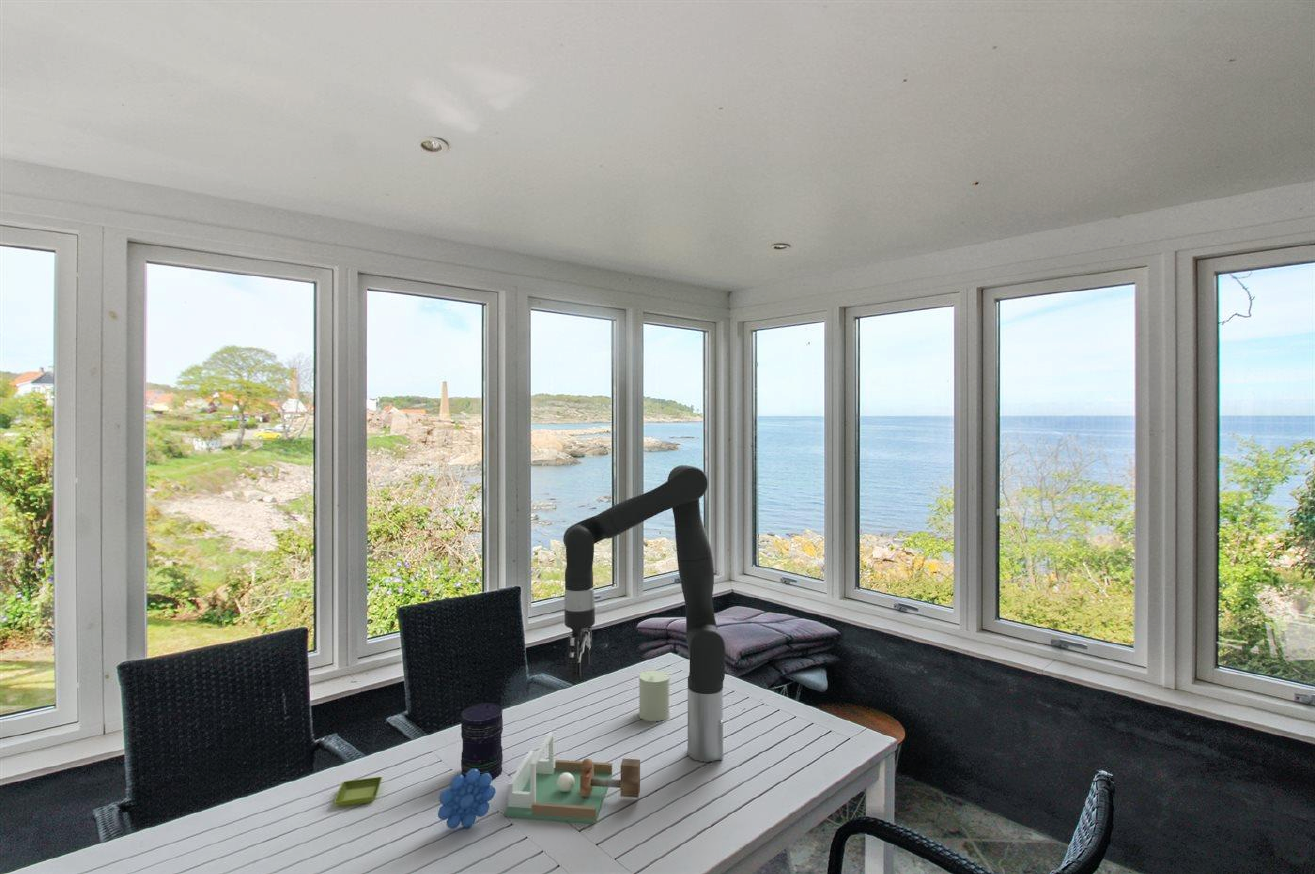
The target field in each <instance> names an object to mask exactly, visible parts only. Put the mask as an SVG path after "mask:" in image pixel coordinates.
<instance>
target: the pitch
mask: <svg viewBox="0 0 1315 874" xmlns="http://www.w3.org/2000/svg"><path fill="white" fill-rule="evenodd" d="M547 748H548V758H541V757H542V756H543V754H544V753H545V751H546V749H547ZM582 762H583V760H581V761H580V760H564V759H563V760H562V759H556V760H555V732H554V731H549V732H548V734H547V736H546V737H545V739H544V740H543V743H542V744H541V745H540V747H539V748H538V750H537V752H536V753H535V750H534V749H533V750H532V749H530V750H529V751H528V753H527V754H526V756H525V757H524V758H523V760H522V762H521V763H520V765H519V766H518V768H517V770H516V771H515V773H514V774H513V776H512V777H511V779H510V780H509V782H508V783H507V807H506V809H505V811H504V817H505V818H517V819H529V820H530V819H531V820H540V821H541V820H542V821H543V820H545V821H553V822H554V821H555V822H567V823H568V822H570V823H583V824H593V825H594V824H596V823H597V820H598V817H599V815H600V812H601V808H602V806H603V804H604V800H605V798H606V795H607V791H608V789H609V787H600V786H593V788H592V791H591V793H590V796H589V797H584V796H580V776H581V774H582V771H583V769H582ZM592 762H593V765H594V778H601V779H613V778H612V777H613V763H612V762H611V763H610V762H597V761H592ZM565 772H568V773H570V774H572V775H573V777H574V780H575V784H574V787H573V788H572V790H570V791H569V792H562V791H560V790H559V788H558V786H557V780H558V778H559V776H560V775H561V774H562V773H565Z"/></svg>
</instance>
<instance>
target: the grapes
mask: <svg viewBox="0 0 1315 874" xmlns="http://www.w3.org/2000/svg"><path fill="white" fill-rule="evenodd" d="M479 776H480V772H479V770H478V769H475V768H474V769H471V770H469V771H468V772H467V774H466V777H464V776H463V775H462V774H456V775H455V776H454V777H452V779H451V781H450V783H449V787H450V788H449V787H448V788H445V789H444V790H443V791H441V792H440V795H439V796H438V797H439V800H438V801H439V803H440V804H441V806H440V807H439V810H438V811H437V817H438V818H439V819H440V820H442V821H445V820H446V826H447V828H448V829H451V830H453V829H456V828H458V826H460V825H461V826H462V827H463V828H469V827H472V826H473V825H474V823H475V822H476V819H477V817H479V818H481V817H484V816H485V815H486V814H488V811H489V809H490V803H489V802H490V801H491V800H493V799H494V797H495V794H496V788H495V787H494V785H491V783H492V782H493V780H492V776H491V775H490V774H489V773H484V774H482V775H481V776H480V777H479Z"/></svg>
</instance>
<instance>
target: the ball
mask: <svg viewBox="0 0 1315 874" xmlns="http://www.w3.org/2000/svg"><path fill="white" fill-rule="evenodd" d="M574 784H575V780H574V777H573V775H572V774H570V773H568V772H565V773H562V774H561V775H560V776H559V778H558V780H557V786H558V788H559V790H560V791H562V792H569V791H570V790H572V788H573V787H574Z"/></svg>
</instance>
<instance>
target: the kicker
mask: <svg viewBox="0 0 1315 874" xmlns="http://www.w3.org/2000/svg"><path fill="white" fill-rule="evenodd" d="M582 761H583V762H582V769H583V771H582V774H581V776H580V796H584V797H589V796H590V793H591V791H592V788H593V786H600V787H608V788H619V789H620V797H623V798H635V799H636V798H637V799H638V798H639V796H640V792H641V759H637V758H634V759H633V758H622V761H621V763H620V779H616V778H615V779H613V778H611V779H601V778H594V765H593V762H594V761H593V760H592V759H591V758H585V759H582Z"/></svg>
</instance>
